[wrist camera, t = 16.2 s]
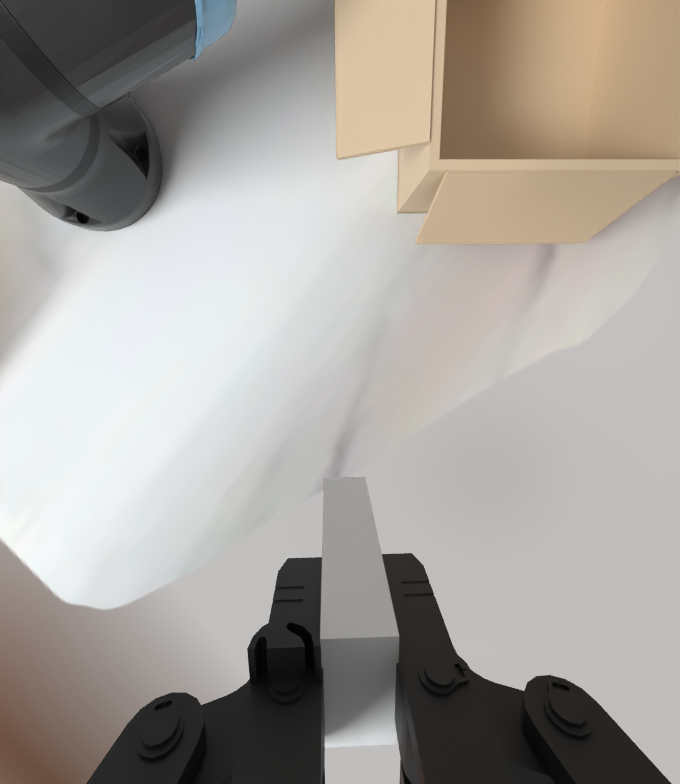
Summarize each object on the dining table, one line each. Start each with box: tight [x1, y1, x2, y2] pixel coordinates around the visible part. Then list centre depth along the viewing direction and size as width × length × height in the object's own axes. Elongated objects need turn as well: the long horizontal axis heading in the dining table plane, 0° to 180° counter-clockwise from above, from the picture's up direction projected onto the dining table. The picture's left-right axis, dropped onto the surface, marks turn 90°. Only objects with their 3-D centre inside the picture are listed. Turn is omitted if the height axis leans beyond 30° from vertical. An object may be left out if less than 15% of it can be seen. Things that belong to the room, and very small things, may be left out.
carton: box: [335, 0, 680, 244], centre depth 34 cm, size 26×37×14 cm
